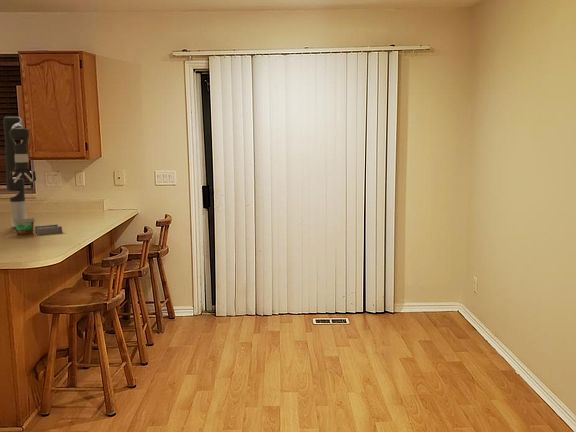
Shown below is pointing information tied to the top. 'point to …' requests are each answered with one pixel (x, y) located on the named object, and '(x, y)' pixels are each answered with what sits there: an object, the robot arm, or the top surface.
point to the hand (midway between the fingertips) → (23, 188)
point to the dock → (48, 229)
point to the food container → (24, 226)
